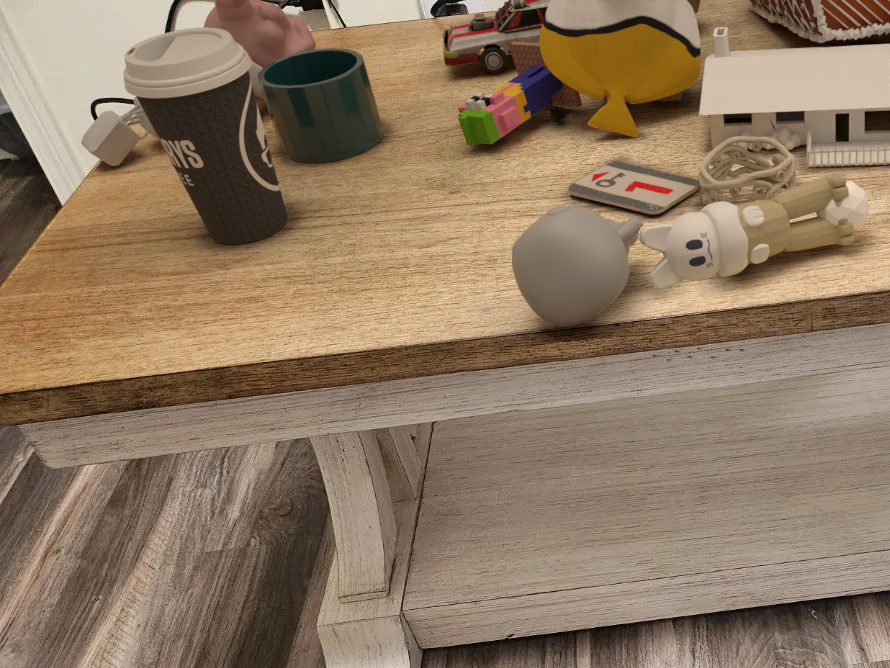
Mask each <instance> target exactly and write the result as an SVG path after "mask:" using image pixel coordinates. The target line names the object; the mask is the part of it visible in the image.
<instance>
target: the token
mask: <svg viewBox="0 0 890 668" xmlns="http://www.w3.org/2000/svg"><path fill="white" fill-rule="evenodd" d="M700 188H701V185H700V183H699V179H695V178H691V177H686V176H682V175H677V174H673V173H669V172H664V171H660V170H655V169H651V168H647V167H643V166H639V165H635V164H631V163H627V162H622V161H611V162H609V163H607V164H606V165H604V166H602V167H599V168H598V169H596V170H594V171H593V172H591V173H589V174H587V175H585V176H584V177H582V178H580V179H578V180H576V181H575V182H573V183H571V184H570V185H568V193H569V194H570V195H571V196H574V197H578V198H581V199H586V200H592V201H594V202H598V203H604V204H607V205H612V206H615V207H619V208H624V209H628V210H632V211H635V212H639V213H643V214H647V215H658V214H659V215H660V214H661V213H664V212H665V211H667V210H668V209H670V208H672V207H673V206H675V205H676V204H678V203H680V202H682V201H683V200H685V199H687V198H688V197H690V196H691V195H693V194H695V193H696V192H698V191H699V190H700Z"/></svg>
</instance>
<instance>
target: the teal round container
mask: <svg viewBox="0 0 890 668" xmlns="http://www.w3.org/2000/svg"><path fill="white" fill-rule="evenodd" d="M257 80H258V83H259V86H260V89H261V91H262V94H263V97H264V100H263V101H264V102H265V105H266V106H265V107H266V108H267V111H268V114H269V117H270V119H271V123H272V125H273V128H274V132H275V134H276V136H277V139H278V143H279V145H280V148H282V152H283V154H284V155H285V157H287V158H288V159H290V160H292V161H295V162H300V163H305V164H306V163H308V164H319V163H329V162H335V161H341V160H345V159H348V158H352V157H354V156H358V155H360V154H362V153H364V152H366V151H368V150H370V149H372V148H374V147H375V146H377V145H378V143H380V142H381V141H382V140H383V138H384V136H385V135H384V134H385V131H384V127H383V123H382V119H381V116H380V112H379V109H378V105H377V102H376V98H375V94H374V91H373V87H372V84H371V81H370V78H369V73H368V69H367V66H366V63H365V59H364V56H363V55H362V54H361V53H359V52H358V51H356V50H351V49H348V48H340V47H339V48H338V47H337V48H336V47H330V48H327V47H326V48H317V49H316V48H315V50H310V51H304V52H299V53H296V54H292V55H288V56H285V57H283V58H280V59H278V60H276V61H273V62H272V63H270V64H268V65H267V66H265V67H264V68H263V69H262V70H261V71H260V72H259V73H258V79H257Z"/></svg>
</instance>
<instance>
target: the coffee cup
mask: <svg viewBox="0 0 890 668" xmlns="http://www.w3.org/2000/svg"><path fill="white" fill-rule="evenodd" d="M124 63H125V68H124V70H123V83H124V89H125V91H126V92H127V93H128V94H130V95H132V96H134V97H137V99H138V101H139V103H140V104H141V106H142V108H143V110H144V112H145V114H146V116H147V117H148V119H149V121H150V123H151V125H152V127H153V129H154V130H155V132H156V134H157V136H158V140H159V142H160V144H161V145H162V148H163V149H164V151H165V153H166V155H167V157H168V159H169V160H170V162H171V165H172V166H173V168H174V170H175V172H176V174H177V175H178V177H179V179H180V181H181V183H182V186H183V187H184V189H185V190H186V191H185V192H187V195H188V196H189V198H190V200H191V202H192V204H193V206H194V207H195V210H196V212H197V214H198V216H199V218H200V220H201V221H202V223H203V225H204V227H205V228H206V230H207V232H208V234H209V237H210V238H211V239H212V240H213V241H214V242H216V243H219V244H223V245H244V244H249V243H254V242H257V241H260V240H263V239H266V238H268V237H270V236H272V235H274V234H276V233H278V232H279V231H281V230H282V229H283V227H284V226H286V224H287V222H288V220H289V219H288V218H289V217H288V214H287V210H286V205H285V203H284V198H283V194H282V191H281V188H280V183H279V181H278V177H277V173H276V169H275V165H274V162H273V158H272V154H271V150H270V146H269V143H268V140H267V136H266V131H265V129H264V124H263V120H262V116H261V113H260V110H259V106H258V101H257V98H256V95H255V94H254V90H253V86H252V82H251V79H250V75H249V71H248V70H249V68H250V67H251V65H252V60H251V58H250V56H249V55H248V53H247V52H246V51H245V50H244V48H243V47H242V46H241V45H240V44H238V43H236V42H235V40H234V39H233V37H232V36H231V34H230V33H229V32H227V31H225V30H223V29H218V28H204V27H191V28H183V29H178V30H172V31H169V32H164V33H160V34H158V35H155V36H152V37H151V36H150V37H149V38H147V39H144V40H141V41H140V42H138V43H136V44H134V45H132V46H131V47H130V48H129V49H128V50H127V51H126V52H125V53H124Z"/></svg>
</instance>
